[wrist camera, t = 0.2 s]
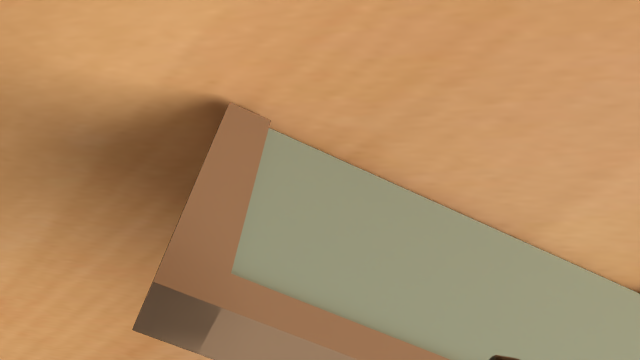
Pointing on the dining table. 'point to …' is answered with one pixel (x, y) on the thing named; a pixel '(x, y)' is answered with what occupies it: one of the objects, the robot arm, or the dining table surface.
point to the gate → (361, 270)
